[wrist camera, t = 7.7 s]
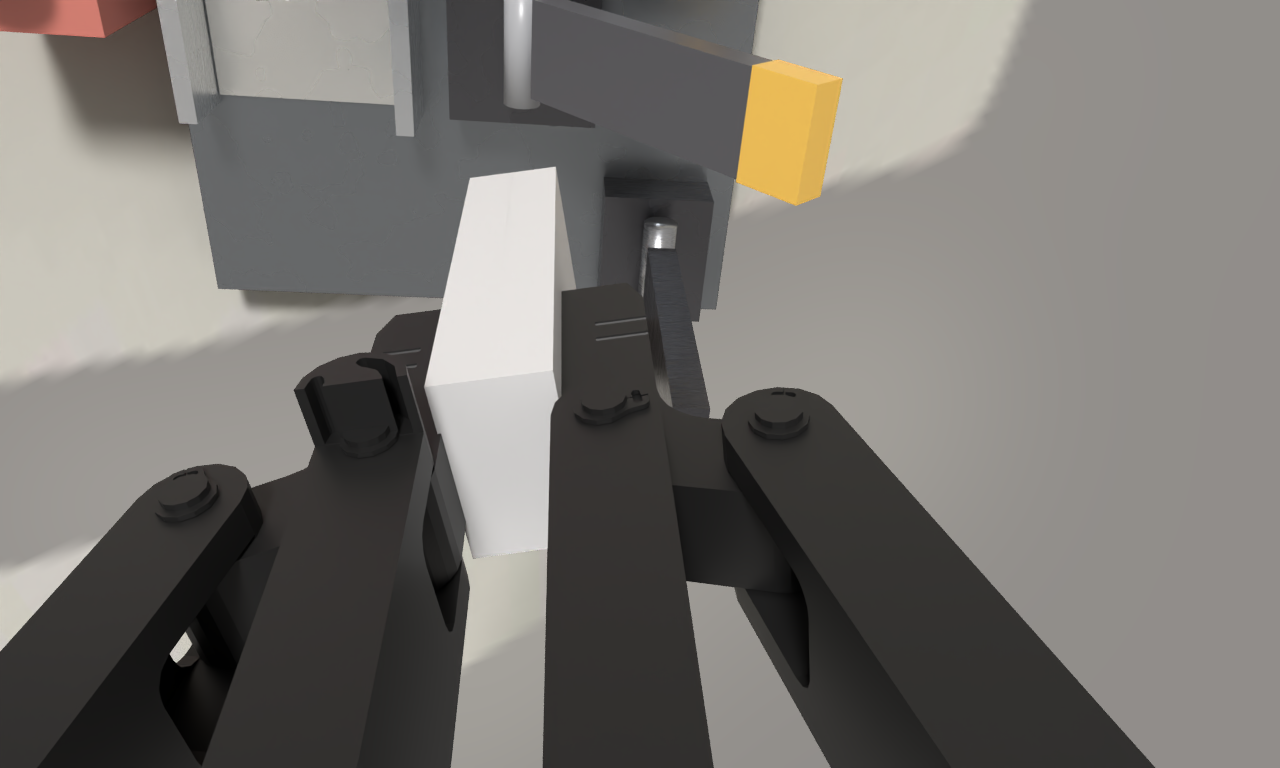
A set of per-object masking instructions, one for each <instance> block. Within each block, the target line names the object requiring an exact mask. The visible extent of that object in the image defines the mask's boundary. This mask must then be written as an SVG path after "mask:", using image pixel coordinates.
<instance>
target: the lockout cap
mask: <svg viewBox="0 0 1280 768" xmlns="http://www.w3.org/2000/svg"><path fill="white" fill-rule="evenodd" d="M155 8H157V2H156V0H0V31H7V32H23V33H38V34H54V35H70V36H85V37H101V38H105V37H107V36H109V35H111V34H112V33H114V32H116V31H117V30H119V29H121V28H123V27H124V26H126V25H128V24H129V23H131V22H133V21H135V20H136V19H138V18H140V17H141V16H143V15H145V14H147V13H148V12H150V11H152V10H153V9H155Z"/></svg>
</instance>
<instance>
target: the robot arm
mask: <svg viewBox="0 0 1280 768" xmlns="http://www.w3.org/2000/svg"><path fill="white" fill-rule="evenodd" d="M294 392H295V394H296V397H297V400H298V402H299V405H300V408H301V411H302V413H303V416H304V419H305V421H306V424H307V426H308V429H309V432H310V435H311V437H312V440H313V443H314V445H315V448H314V451H313V455H312V457H311V459H310V462H309V465H308V467H307V468H305V469H304V470H301V471H299V472H296V473H294V474H291V475H289V476H286V477H283V478H280V479H277V480H274V481H271V482H268V483H265V484H262V485H259V486H256V487H253V488H251V486H250V484H249V482H248V480H247V477H246V475H245V474H244V473H242V472H241V471H240V470H238V469H237V468H236V467H233V466H227V465H222V464H213V465H204V466H196V467H192V468H188V469H187V470H182V471H179V472H177V473H174V474H172V475H171V476H169V477H168V478H166V479H164V480H162V481H160V482H158V483H156V484H155V485H153V486H152V487H151V488H150V489H149V490H147V491H146V492H145V493H144V494H143V495H142V496H140V497H139V498H138V499H137V500H136V501H135V502H134V503H133V505H132V506H131V507H130V508H129V509H128V510H127V511H126V512H125V513H124V515H123V516H122V517H121V518H120V519H119V520H118V521H117V522H116V523H115V525H114V526H113V527H112V528H111V529H110V530H109V531H108V532H107V534H106V535H105V536H104V537H103V538H102V539H101V540H100V541H99V542H98V544H97V545H96V546H95V547H94V548H93V549H92V550H91V551H90V552H89V554H88V555H87V556H86V557H85V558H84V559H83V560H82V561H81V562H80V564H79V565H78V566H77V567H76V568H75V569H74V570H73V571H72V572H71V574H70V575H69V576H68V577H67V578H66V579H65V580H64V581H63V582H62V584H61V585H60V586H59V587H58V588H57V589H56V590H55V591H54V592H53V594H52V595H51V596H50V597H49V598H48V599H47V600H46V601H45V602H44V604H43V605H42V606H41V607H40V608H39V609H38V610H37V611H36V613H35V614H34V615H33V616H32V617H31V618H30V619H29V620H28V621H27V623H26V624H25V625H24V626H23V627H22V628H21V629H20V630H19V631H18V633H17V634H16V635H15V636H14V637H13V638H12V639H11V640H10V641H9V643H8V644H7V645H6V646H5V647H4V648H3V649H2V650H1V651H0V768H450V767H451V759H452V750H453V740H454V731H455V722H456V712H457V703H458V694H459V684H460V675H461V666H462V656H463V647H464V638H465V628H466V619H467V610H468V600H469V591H470V586H469V580H468V575H467V571H466V568H465V564H464V561H463V558H462V551H463V543H464V535H465V532H466V536H467V539H468V543H469V546H470V550H471V553H472V557H473V559H474V558H482V557H489V556H497V555H505V554H512V553H520V552H528V551H535V550H543V549H548V552H547V597H546V642H545V687H544V688H545V689H544V732H543V734H544V735H543V768H714V767H713V761H712V753H711V747H710V740H709V733H708V726H707V719H706V713H705V706H704V699H703V692H702V686H701V679H700V672H699V665H698V658H697V651H696V645H695V638H694V631H693V624H692V617H691V611H690V604H689V597H688V590H687V584H686V581H691V582H698V583H706V584H714V585H721V586H729V587H734V588H735V592H736V595H737V599H738V602H739V603H740V605H741V607H742V609H743V611H744V613H745V614H746V616H747V618H748V620H749V622H750V623H751V625H752V627H753V629H754V631H755V632H756V634H757V636H758V638H759V639H760V641H761V643H762V645H763V646H764V648H765V650H766V652H767V654H768V656H769V657H770V659H771V661H772V663H773V665H774V666H775V668H776V670H777V672H778V673H779V675H780V677H781V679H782V681H783V682H784V684H785V686H786V688H787V690H788V691H789V693H790V695H791V697H792V699H793V700H794V702H795V704H796V706H797V708H798V709H799V711H800V713H801V715H802V717H803V718H804V720H805V722H806V724H807V725H808V727H809V729H810V731H811V733H812V735H813V736H814V738H815V740H816V742H817V744H818V745H819V747H820V749H821V751H822V752H823V754H824V756H825V757H826V760H827V761H828V763H829V765H830V767H831V768H1155V767H1154V766H1153V765H1152V764H1151V762H1150V761H1149V760H1148V759H1147V758H1146V757H1145V756H1144V755H1143V753H1142V752H1141V751H1140V750H1139V749H1138V748H1137V747H1136V746H1135V744H1134V743H1133V742H1132V741H1131V740H1130V739H1129V738H1128V737H1127V736H1126V735H1125V733H1124V732H1123V731H1122V730H1121V729H1120V728H1119V727H1118V725H1117V724H1116V723H1115V722H1114V721H1113V720H1112V719H1111V718H1110V716H1109V715H1107V713H1106V712H1105V711H1104V710H1103V709H1102V707H1101V706H1100V705H1099V704H1098V703H1097V702H1096V701H1095V700H1094V698H1093V697H1092V696H1091V695H1090V694H1089V693H1088V692H1087V691H1086V689H1085V688H1084V687H1083V686H1082V685H1081V684H1080V683H1079V682H1078V680H1077V679H1076V678H1075V677H1074V676H1073V675H1072V674H1071V673H1070V672H1069V670H1068V669H1067V668H1066V667H1065V666H1064V665H1063V664H1062V663H1061V661H1060V660H1059V659H1058V658H1057V657H1056V656H1055V655H1054V654H1053V652H1052V651H1051V650H1050V649H1049V648H1048V647H1047V646H1046V645H1045V643H1044V642H1043V641H1042V640H1041V639H1040V638H1039V637H1038V636H1037V634H1036V633H1035V632H1034V631H1033V630H1032V629H1031V628H1030V627H1029V625H1028V624H1027V623H1026V622H1025V621H1024V620H1023V619H1022V618H1021V617H1020V616H1019V614H1018V613H1017V612H1016V611H1015V610H1014V609H1013V608H1012V607H1011V605H1010V604H1009V603H1008V602H1007V601H1006V600H1005V599H1004V597H1003V596H1002V595H1001V594H1000V593H999V592H998V591H997V590H996V589H995V587H994V586H993V585H992V584H991V583H990V582H989V581H988V580H987V578H986V577H985V576H984V575H983V574H982V573H981V572H980V571H979V569H978V568H977V567H976V566H975V565H974V564H973V563H972V562H971V560H969V558H968V557H967V556H966V555H965V554H964V553H963V552H962V550H961V549H960V548H959V547H958V546H957V545H956V544H955V542H954V541H953V540H952V539H951V538H950V537H949V536H948V535H947V533H946V532H945V531H944V530H943V529H942V528H941V527H940V526H939V525H938V524H937V522H936V521H935V520H934V519H933V518H932V517H931V515H930V514H929V513H928V512H927V511H926V510H925V509H924V508H923V506H922V505H921V504H920V503H919V502H918V501H917V500H916V499H915V498H914V497H913V495H912V494H911V493H910V492H909V491H908V490H907V489H906V488H905V486H904V485H903V484H902V483H901V482H900V481H899V480H898V478H897V477H896V476H895V475H894V474H893V473H892V472H891V471H890V469H889V468H888V467H887V466H886V465H885V464H884V463H883V462H882V461H881V459H880V458H879V457H878V456H877V455H876V454H875V453H874V452H873V450H872V449H871V448H870V447H869V446H868V445H867V444H866V443H865V441H864V440H863V439H862V438H861V437H860V436H859V435H858V434H857V432H856V431H855V430H854V429H853V428H852V427H851V426H850V425H849V423H848V422H847V421H846V420H845V419H844V418H843V417H842V416H841V415H840V413H839V412H838V411H837V410H836V409H835V408H834V407H833V405H831V404H830V403H829V402H827V401H826V400H825V399H823V398H822V397H820V396H819V395H817V394H814V393H811V392H808V391H804V390H801V389H794V388H780V387H776V388H770V389H763V390H757V391H754V392H752V393H749V394H747V395H744V396H742V397H740V398H738V399H737V400H735V401H734V402H733V403H732V404H731V405H730V406H729V407H728V408H727V409H726V410H725V413H724V415H723V418H722V419H711V418H703V417H697V416H691V415H688V414H685V413H682V412H679V411H677V410H676V409H674V408H672V407H671V406H669V405H667V404H666V403H665V401H664V400H663V399H662V398H661V397H660V395H659V393H658V390H657V387H656V380H655V374H654V367H653V360H652V354H651V347H650V340H649V334H648V327H647V320H646V314H645V307H644V300H643V297H642V296H641V295H640V294H639V293H638V292H637V291H636V290H635V289H634V288H632V287H631V286H630V285H629V284H628V283H620V284H612V285H604V286H597V287H589V288H581V289H576V284H575V278H574V272H573V267H572V261H571V255H570V249H569V243H568V237H567V231H566V225H565V219H564V213H563V207H562V201H561V195H560V189H559V183H558V177H557V171H556V167H550V168H542V169H534V170H527V171H519V172H512V173H504V174H497V175H489V176H481V177H474V178H470V180H469V185H468V189H467V194H466V198H465V203H464V207H463V212H462V217H461V221H460V226H459V230H458V235H457V239H456V244H455V248H454V253H453V258H452V262H451V267H450V271H449V276H448V280H447V285H446V289H445V294H444V299H443V303H442V308H441V309H440V310H433V311H425V312H418V313H411V314H402V315H396V316H395V317H394V318H393V319H392V320H391V321H390V322H389V323H388V324H387V325H386V326H385V327H384V328H383V329H382V330H381V331H379V333H377V335H376V338H375V341H374V344H373V347H372V350H371V353H357V354H353V355H349V356H345V357H340V358H337V359H335V360H332V361H330V362H328V363H326V364H323V365H321V366H319V367H317V368H316V369H314V370H313V371H312V372H310V373H309V374H307V375H306V376H305V377H303V378H302V380H301V381H300V382H299V384H298V385H297V386H296V388H295V389H294ZM185 632H186V633H187V635H188V637H189V639H190V641H191V643H192V646H191V647H190V649H189V650H188V651H187V653H186V654H185V656H184V657H183V658H182V659H180V660H179V661H178V662H177V663H176V662H174V661H173V659H172V657H171V656H170V652H171V651H172V650H173V648H174V647H175V645H176V644H177V643H178V641H179V640H180V638H181V637H182V636H183V634H184V633H185Z"/></svg>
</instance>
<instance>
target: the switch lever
mask: <svg viewBox="0 0 1280 768" xmlns="http://www.w3.org/2000/svg"><path fill="white" fill-rule="evenodd" d="M842 80H843V78H839V77H836V76H833V75H829V74H826V73H822V72H819V71H816V70H812V69H809V68H805V67H802V66H799V65H795V64H792V63H788V62H785V61H782V60H774V61H773V60H769V59H766V58H762V57H759V56H756V55H752V54H749V53H746V52H742V51H739V50H735V49H732V48H729V47H725V46H722V45H719V44H715V43H712V42H708V41H705V40H702V39H698V38H695V37H691V36H688V35H685V34H681V33H678V32H675V31H671V30H668V29H664V28H661V27H658V26H654V25H651V24H648V23H644V22H641V21H637V20H634V19H631V18H627V17H624V16H620V15H617V14H614V13H610V12H607V11H604V10H600V9H597V8H593V7H590V6H587V5H583V4H580V3H576V2H573V1H570V0H504V105H506V106H508V107H510V108H515V109H534V108H537V107H539V106H540V103H543V104H545V105H548V106H550V107H553V108H555V109H558V110H560V111H563V112H566V113H568V114H571V115H573V116H576V117H578V118H581V119H583V120H586V121H588V122H591V123H594V124H596V125H599V126H601V127H604V128H606V129H609V130H611V131H614V132H617V133H619V134H622V135H624V136H627V137H629V138H632V139H634V140H637V141H639V142H642V143H645V144H647V145H650V146H652V147H655V148H657V149H660V150H662V151H665V152H668V153H670V154H673V155H675V156H678V157H680V158H683V159H685V160H688V161H690V162H693V163H696V164H698V165H701V166H703V167H706V168H708V169H711V170H713V171H716V172H719V173H721V174H724V175H726V176H729V177H731V178H734V179H736V182H737V183H740V184H742V185H745V186H747V187H750V188H752V189H755V190H757V191H760V192H763V193H765V194H768V195H770V196H773V197H775V198H778V199H780V200H783V201H785V202H788V203H790V204H793V205H795V206H796V205H799V204H802V203H804V202H807V201H809V200H812V199H815V198H817V197H819V196H820V195H821V189H822V184H823V179H824V174H825V169H826V163H827V158H828V153H829V148H830V143H831V137H832V132H833V127H834V122H835V117H836V111H837V106H838V101H839V96H840V91H841V85H842Z"/></svg>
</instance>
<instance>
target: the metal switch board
mask: <svg viewBox="0 0 1280 768" xmlns="http://www.w3.org/2000/svg"><path fill="white" fill-rule="evenodd" d="M570 1H573V2H576V3H580V4H583V5H587V6H590V7H593V8H597V9H600V10H604V11H607V12H610V13H614V14H617V15H620V16H624V17H627V18H631V19H634V20H637V21H641V22H644V23H648V24H651V25H654V26H658V27H661V28H664V29H668V30H671V31H675V32H678V33H681V34H685V35H688V36H691V37H695V38H698V39H702V40H705V41H708V42H712V43H715V44H719V45H722V46H725V47H729V48H732V49H735V50H739V51H742V52H746V53H749V54H751V53H752V46H753V38H754V31H755V24H756V17H757V10H758V2H759V0H570ZM156 2H157V7H158V13H159V18H160V23H161V29H162V34H163V40H164V45H165V50H166V56H167V61H168V67H169V72H170V77H171V83H172V88H173V94H174V99H175V104H176V110H177V115H178V121H179V123H183V124H189V129H190V134H191V140H192V146H193V151H194V157H195V162H196V168H197V173H198V179H199V184H200V190H201V196H202V201H203V207H204V212H205V218H206V223H207V229H208V235H209V240H210V246H211V251H212V257H213V262H214V268H215V274H216V279H217V285H218V289H239V290H263V291H287V292H311V293H335V294H359V295H383V296H407V297H430V298H444V294H445V289H446V285H447V280H448V276H449V271H450V267H451V262H452V258H453V253H454V248H455V244H456V239H457V235H458V230H459V226H460V221H461V217H462V212H463V207H464V203H465V198H466V194H467V189H468V185H469V180H470V178H474V177H481V176H489V175H497V174H504V173H512V172H519V171H527V170H534V169H542V168H550V167H556V171H557V177H558V183H559V189H560V195H561V201H562V207H563V213H564V219H565V225H566V231H567V237H568V243H569V249H570V255H571V261H572V267H573V272H574V278H575V284H576V289H581V288H589V287H597V286H604V285H612V284H620V283H628V284H629V285H630V286H631V287H632V288H634V289H635V290H636V291H637V292H638V293H639V294H640V295H641V296H642V297H643V300H644V307H645V314H646V320H647V327H648V334H649V340H650V347H651V354H652V360H653V367H654V374H655V380H656V387H657V390H658V393H659V395H660V397H661V398H662V399H663V400H664V401H665V403H666V404H667V405H669V406H671V407H672V408H674V409H676V410H677V411H679V412H682V413H685V414H688V415H691V416H697V417H703V418H709V413H710V406H709V402H708V397H707V393H706V388H705V383H704V378H703V374H702V369H701V364H700V360H699V355H698V350H697V346H696V341H695V336H694V331H693V327H692V322H691V321H699V316H700V309H716V305H717V297H718V291H719V283H720V276H721V269H722V262H723V255H724V247H725V240H726V233H727V226H728V219H729V211H730V204H731V197H732V190H733V183H734V178H731V177H729V176H726V175H724V174H721V173H719V172H716V171H713V170H711V169H708V168H706V167H703V166H701V165H698V164H696V163H693V162H690V161H688V160H685V159H683V158H680V157H678V156H675V155H673V154H670V153H668V152H665V151H662V150H660V149H657V148H655V147H652V146H650V145H647V144H645V143H642V142H639V141H637V140H634V139H632V138H629V137H627V136H624V135H622V134H619V133H617V132H614V131H611V130H609V129H606V128H604V127H601V126H599V125H596V124H594V123H591V122H588V121H586V120H583V119H581V118H578V117H576V116H573V115H571V114H568V113H566V112H563V111H560V110H558V109H555V108H553V107H550V106H548V105H545V104H543V103H540V106H539V107H537V108H534V109H515V108H510V107H508V106H506V105H504V0H156Z"/></svg>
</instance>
